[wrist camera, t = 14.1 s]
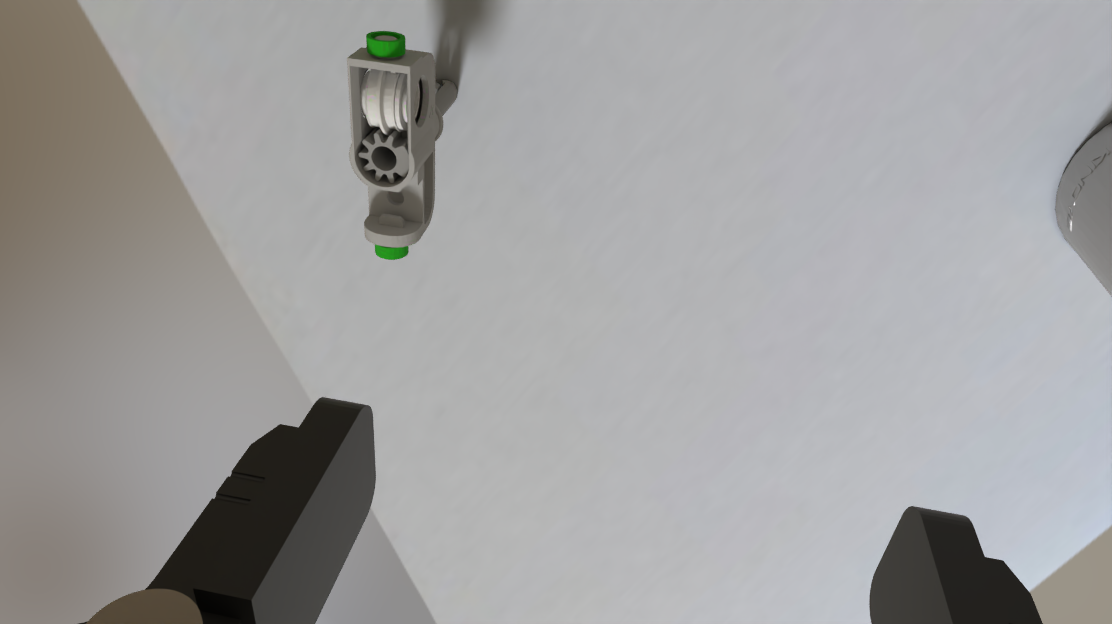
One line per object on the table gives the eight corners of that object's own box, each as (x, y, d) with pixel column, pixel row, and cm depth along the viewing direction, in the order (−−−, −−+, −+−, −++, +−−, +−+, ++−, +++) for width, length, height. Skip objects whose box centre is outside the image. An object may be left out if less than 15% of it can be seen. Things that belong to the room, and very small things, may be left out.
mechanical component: (417, 174, 46) (354, 256, 38) (415, -12, 40) (342, 37, 32) (467, 181, 46) (415, 266, 38) (472, -4, 40) (413, 47, 32)
